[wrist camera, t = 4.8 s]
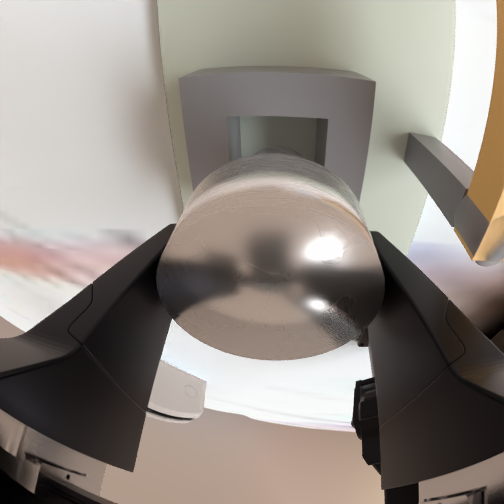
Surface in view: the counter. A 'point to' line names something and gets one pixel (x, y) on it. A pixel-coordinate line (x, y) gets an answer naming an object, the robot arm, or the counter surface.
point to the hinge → (176, 395)
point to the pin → (272, 260)
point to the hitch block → (319, 96)
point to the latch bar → (487, 177)
